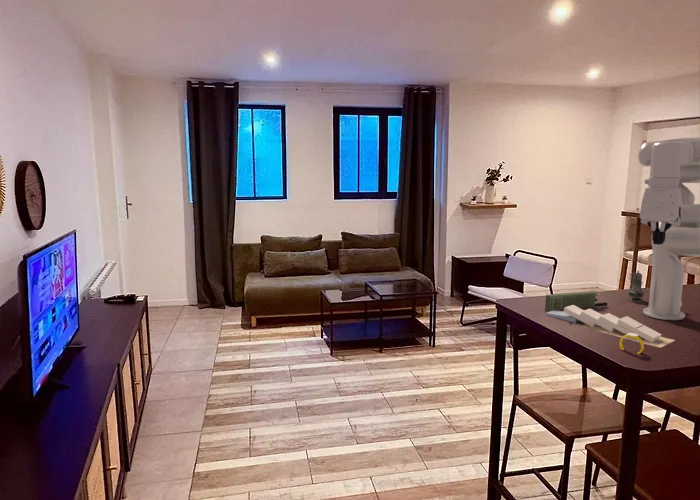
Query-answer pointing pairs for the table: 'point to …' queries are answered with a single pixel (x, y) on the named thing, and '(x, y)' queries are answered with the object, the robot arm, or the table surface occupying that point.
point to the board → (657, 343)
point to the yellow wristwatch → (632, 335)
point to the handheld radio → (571, 300)
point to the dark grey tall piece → (636, 288)
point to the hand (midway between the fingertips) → (658, 243)
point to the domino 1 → (562, 316)
